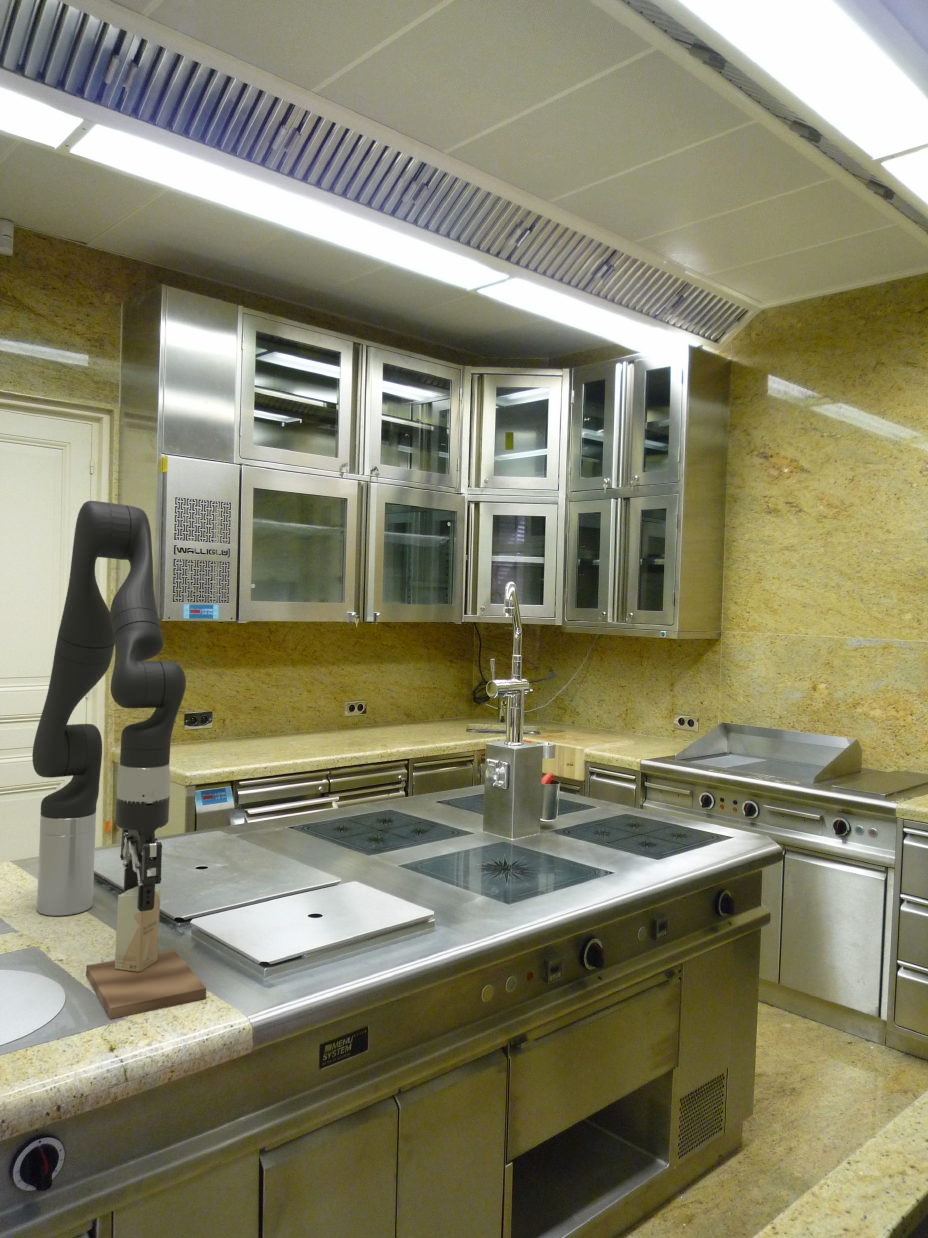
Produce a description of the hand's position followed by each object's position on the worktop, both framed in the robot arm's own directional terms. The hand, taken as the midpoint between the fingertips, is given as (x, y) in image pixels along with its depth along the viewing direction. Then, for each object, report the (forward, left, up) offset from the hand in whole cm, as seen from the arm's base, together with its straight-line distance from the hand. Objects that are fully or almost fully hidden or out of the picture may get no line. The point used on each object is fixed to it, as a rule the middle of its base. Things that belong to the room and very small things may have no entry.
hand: (138, 900), depth 132 cm
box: (0, 0, -10) cm, 10 cm away
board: (+5, 0, -11) cm, 12 cm away
